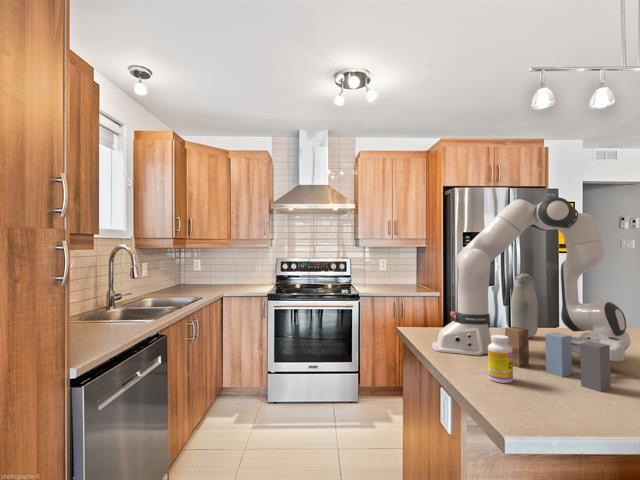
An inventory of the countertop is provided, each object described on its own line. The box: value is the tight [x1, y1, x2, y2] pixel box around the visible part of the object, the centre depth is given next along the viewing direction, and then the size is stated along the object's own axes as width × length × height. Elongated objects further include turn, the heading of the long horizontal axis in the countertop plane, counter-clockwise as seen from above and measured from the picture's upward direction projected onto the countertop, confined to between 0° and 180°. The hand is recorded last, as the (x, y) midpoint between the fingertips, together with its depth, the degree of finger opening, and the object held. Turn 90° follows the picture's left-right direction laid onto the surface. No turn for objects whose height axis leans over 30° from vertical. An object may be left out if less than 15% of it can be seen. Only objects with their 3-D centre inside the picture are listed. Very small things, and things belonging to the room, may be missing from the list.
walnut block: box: [504, 326, 530, 369], centre depth 128 cm, size 5×5×12 cm
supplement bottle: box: [487, 334, 514, 384], centre depth 113 cm, size 7×7×13 cm
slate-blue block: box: [544, 332, 573, 378], centre depth 119 cm, size 5×5×12 cm
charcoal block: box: [579, 341, 612, 393], centre depth 107 cm, size 5×5×12 cm
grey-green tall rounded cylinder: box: [510, 273, 539, 339], centre depth 167 cm, size 10×10×28 cm
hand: (570, 349), depth 122 cm, fingers open, 8 cm apart
